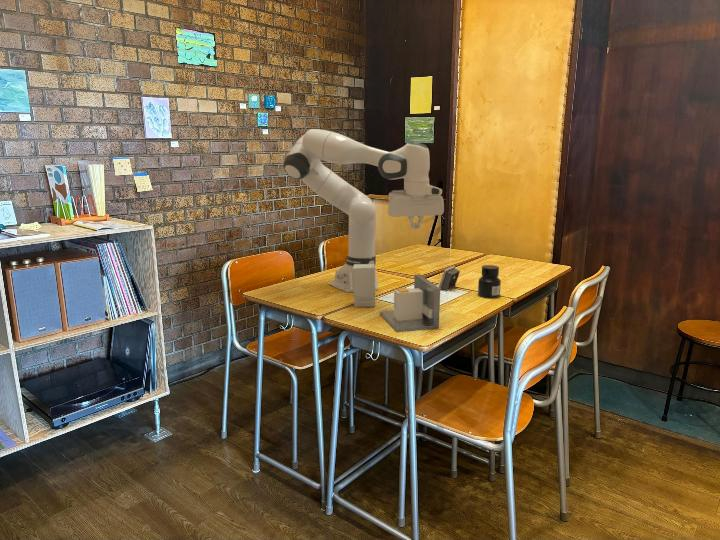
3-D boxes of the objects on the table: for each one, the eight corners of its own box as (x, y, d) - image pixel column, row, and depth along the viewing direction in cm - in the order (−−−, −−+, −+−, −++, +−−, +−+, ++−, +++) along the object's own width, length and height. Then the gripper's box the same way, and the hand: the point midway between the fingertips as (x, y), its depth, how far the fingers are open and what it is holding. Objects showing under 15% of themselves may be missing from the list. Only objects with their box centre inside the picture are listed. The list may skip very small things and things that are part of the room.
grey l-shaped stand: (396, 331, 183) (397, 291, 179) (380, 313, 202) (380, 276, 198) (438, 328, 186) (440, 288, 183) (418, 310, 205) (419, 274, 202)
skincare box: (375, 302, 215) (375, 263, 212) (375, 307, 209) (375, 267, 205) (353, 302, 216) (353, 263, 212) (353, 307, 209) (353, 267, 205)
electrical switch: (447, 285, 241) (450, 264, 238) (458, 288, 238) (461, 267, 235) (437, 289, 233) (440, 269, 231) (448, 293, 231) (451, 271, 228)
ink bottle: (498, 299, 219) (500, 270, 216) (476, 297, 222) (477, 268, 219) (501, 293, 228) (503, 265, 225) (479, 291, 231) (481, 263, 228)
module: (397, 320, 190) (398, 291, 188) (393, 316, 195) (394, 288, 192) (422, 318, 193) (422, 289, 190) (417, 315, 197) (418, 286, 194)
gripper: (391, 191, 189) (390, 230, 192) (446, 189, 194) (445, 228, 197) (385, 189, 195) (385, 227, 198) (439, 188, 200) (438, 225, 203)
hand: (415, 228), depth 198 cm, fingers closed
